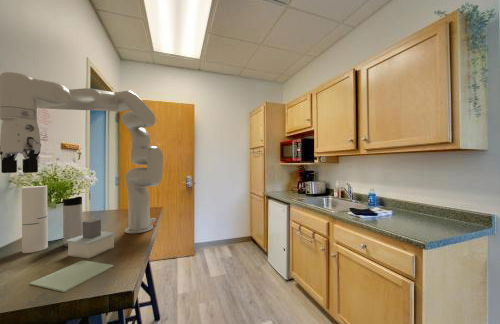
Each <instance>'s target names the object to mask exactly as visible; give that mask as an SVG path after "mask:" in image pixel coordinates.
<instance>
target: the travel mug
mask: <svg viewBox="0 0 500 324" xmlns="http://www.w3.org/2000/svg"><path fill="white" fill-rule="evenodd" d="M62 203H63V204H62V214H63V215H62V228H63V229H62V234H63V235H62V237H63V238H62V239H63V243H62V244H63V246H64V247H68V243H66V240H68V239H71V238H74V237H78V236H81V235H83V224H82V222H83V196H75V197H71V198H65V199H63V200H62Z"/></svg>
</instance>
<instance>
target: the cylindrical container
mask: <svg viewBox="0 0 500 324" xmlns="http://www.w3.org/2000/svg"><path fill="white" fill-rule="evenodd" d="M48 210H49V209H48V185H33V186H32V185H31V186H22V187H21V252H22V253H23V254H30V253H37V252H40V251H43V250H46V249H47V248H48V247H49V240H48V239H49V236H48V235H49V234H48V233H49V230H48V229H49V228H48V227H49V225H48V219H49V218H48V215H49V213H48Z"/></svg>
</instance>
